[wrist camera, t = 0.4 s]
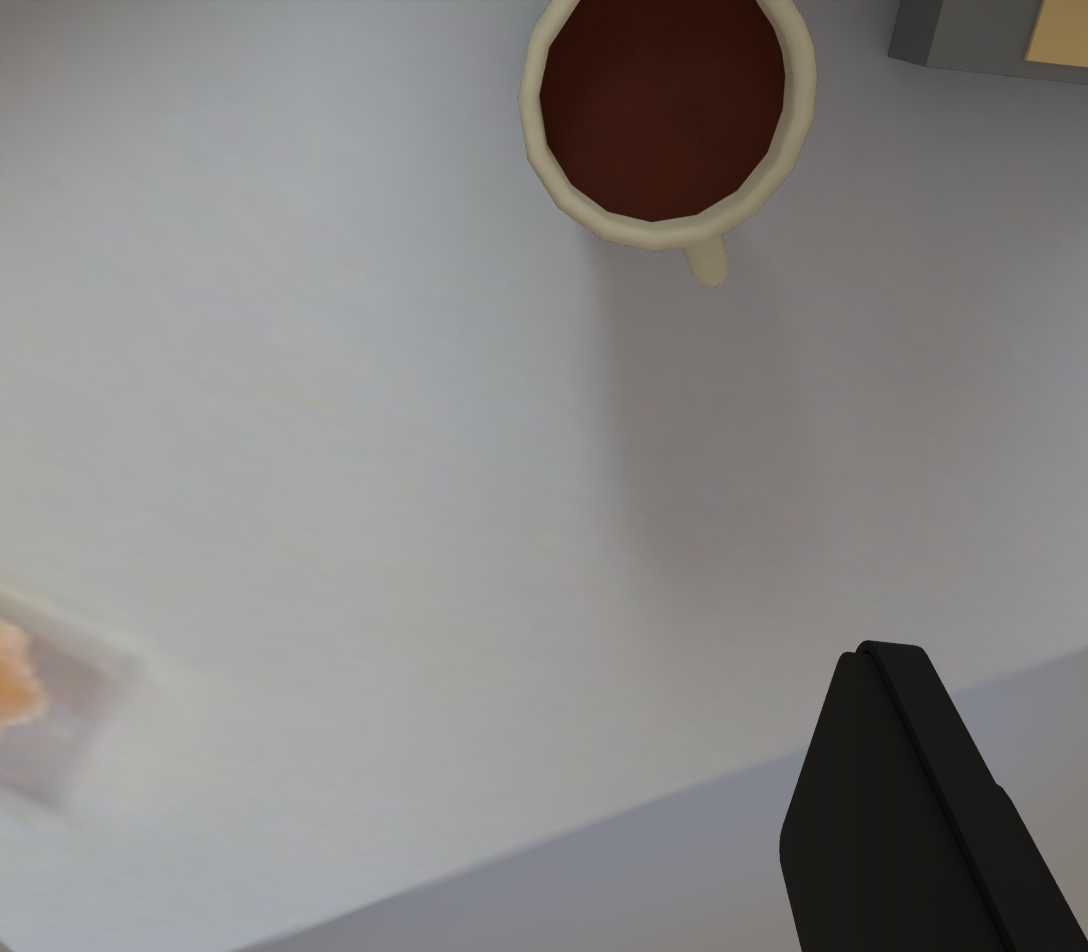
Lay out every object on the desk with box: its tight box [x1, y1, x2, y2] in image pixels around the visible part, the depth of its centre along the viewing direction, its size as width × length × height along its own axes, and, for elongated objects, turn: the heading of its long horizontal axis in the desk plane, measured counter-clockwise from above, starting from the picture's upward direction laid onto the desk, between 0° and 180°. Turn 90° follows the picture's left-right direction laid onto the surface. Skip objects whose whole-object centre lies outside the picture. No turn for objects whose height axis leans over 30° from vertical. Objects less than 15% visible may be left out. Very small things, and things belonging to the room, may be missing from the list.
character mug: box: [518, 0, 817, 287], centre depth 28 cm, size 11×7×13 cm, turn 21°
